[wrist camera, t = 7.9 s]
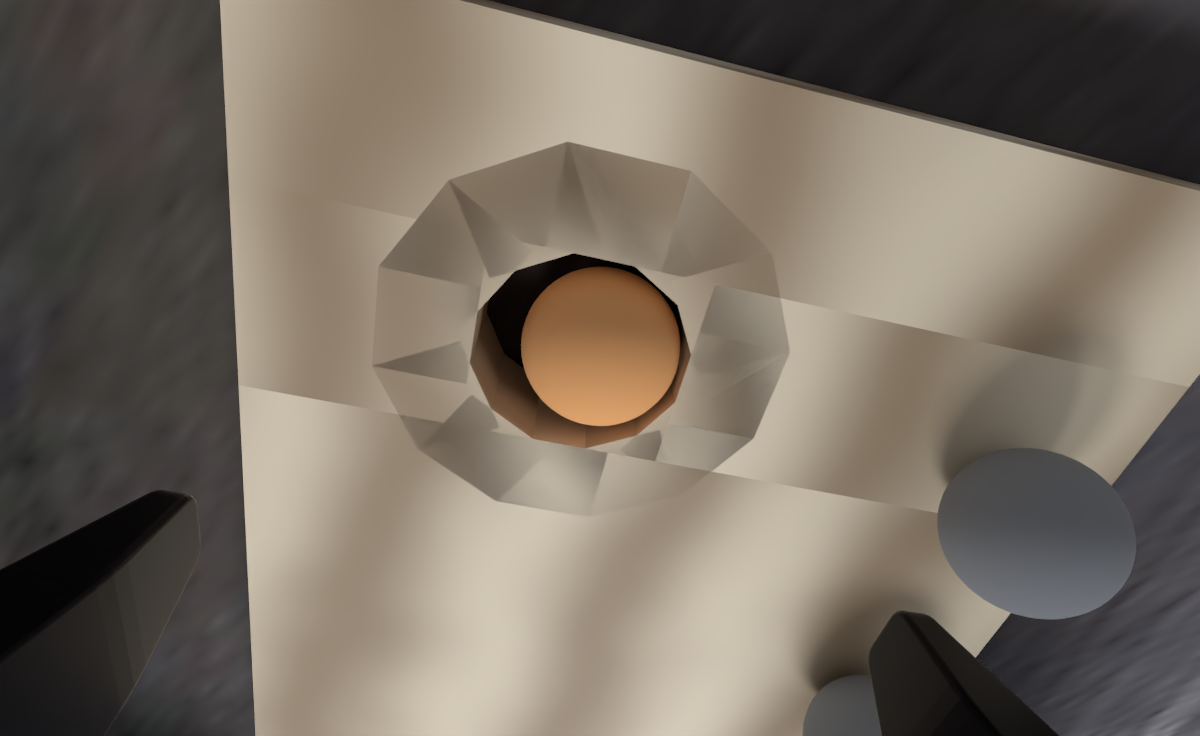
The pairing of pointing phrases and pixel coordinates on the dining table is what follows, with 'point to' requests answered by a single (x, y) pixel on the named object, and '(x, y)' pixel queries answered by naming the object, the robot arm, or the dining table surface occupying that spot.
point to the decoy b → (1036, 533)
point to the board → (699, 388)
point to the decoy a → (843, 709)
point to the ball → (600, 346)
